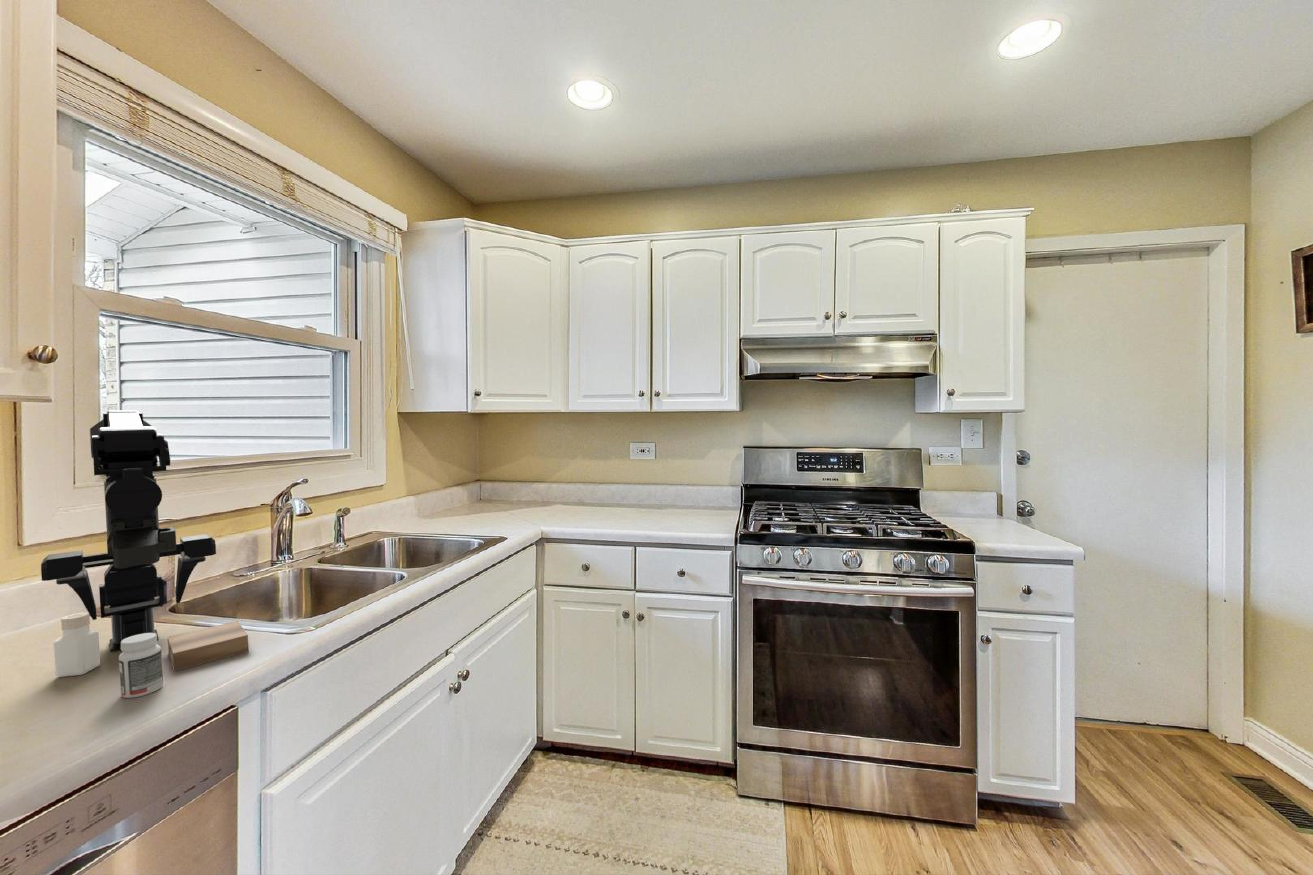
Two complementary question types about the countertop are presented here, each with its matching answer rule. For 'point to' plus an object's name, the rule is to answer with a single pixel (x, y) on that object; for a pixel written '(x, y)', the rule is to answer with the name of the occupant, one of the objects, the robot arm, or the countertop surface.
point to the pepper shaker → (76, 646)
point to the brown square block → (207, 645)
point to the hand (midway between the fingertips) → (138, 610)
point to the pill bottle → (140, 665)
